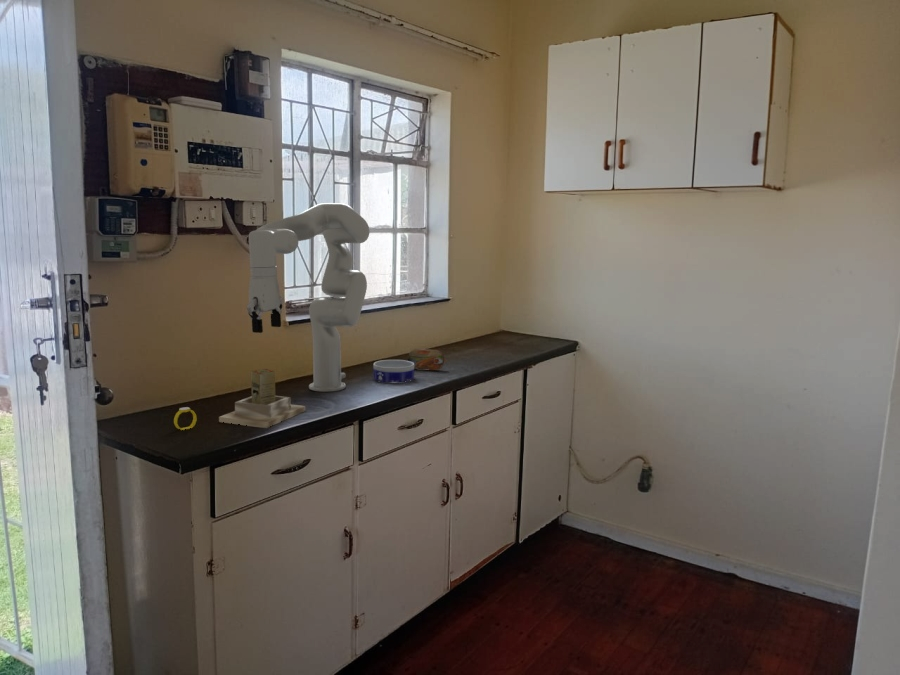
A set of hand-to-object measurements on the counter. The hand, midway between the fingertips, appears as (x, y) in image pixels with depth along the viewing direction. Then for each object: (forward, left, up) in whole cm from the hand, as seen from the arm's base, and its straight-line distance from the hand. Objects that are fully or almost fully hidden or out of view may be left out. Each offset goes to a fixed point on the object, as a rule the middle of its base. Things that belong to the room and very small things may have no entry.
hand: (267, 329), depth 205 cm
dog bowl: (-55, +17, -25) cm, 63 cm away
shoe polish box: (+6, +3, -24) cm, 25 cm away
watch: (+26, -9, -25) cm, 37 cm away
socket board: (+7, +3, -25) cm, 26 cm away
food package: (-75, +22, -25) cm, 82 cm away
